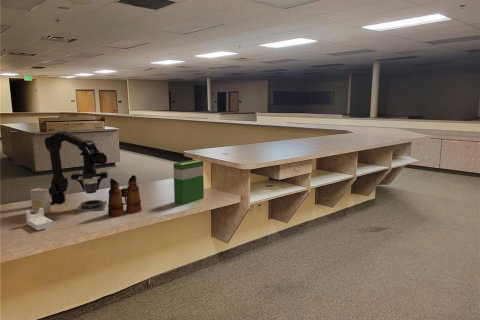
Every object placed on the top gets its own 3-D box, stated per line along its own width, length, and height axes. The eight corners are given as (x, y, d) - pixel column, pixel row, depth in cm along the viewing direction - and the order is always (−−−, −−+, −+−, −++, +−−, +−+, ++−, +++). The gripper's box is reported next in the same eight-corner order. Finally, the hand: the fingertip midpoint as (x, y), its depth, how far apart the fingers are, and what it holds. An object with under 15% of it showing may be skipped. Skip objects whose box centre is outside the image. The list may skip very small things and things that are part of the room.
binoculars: (111, 218, 176) (108, 180, 173) (105, 214, 183) (103, 178, 179) (144, 211, 188) (142, 176, 185) (138, 207, 194) (136, 173, 191)
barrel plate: (76, 211, 186) (76, 207, 185) (81, 204, 199) (81, 200, 199) (103, 210, 189) (103, 205, 189) (106, 202, 202) (106, 198, 202)
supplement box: (51, 212, 185) (49, 189, 183) (43, 214, 180) (41, 191, 178) (39, 210, 188) (37, 187, 185) (32, 213, 183) (29, 189, 181)
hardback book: (195, 196, 218) (194, 159, 214) (203, 198, 214) (203, 160, 209) (174, 202, 204) (173, 163, 200) (182, 204, 200) (182, 165, 196)
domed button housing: (83, 193, 189) (83, 184, 188) (85, 191, 194) (84, 182, 193) (96, 193, 191) (96, 184, 190) (98, 190, 196) (97, 181, 195)
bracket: (27, 225, 166) (25, 210, 165) (42, 221, 171) (41, 207, 170) (37, 232, 158) (35, 216, 156) (53, 228, 163) (52, 213, 162)
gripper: (67, 166, 180) (69, 195, 182) (104, 165, 184) (106, 193, 187) (72, 163, 190) (74, 189, 193) (107, 161, 195) (109, 188, 198)
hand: (90, 190), depth 192 cm, fingers closed on domed button housing, 7 cm apart
